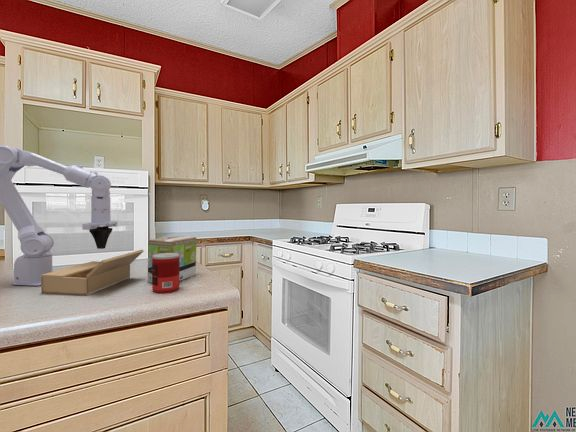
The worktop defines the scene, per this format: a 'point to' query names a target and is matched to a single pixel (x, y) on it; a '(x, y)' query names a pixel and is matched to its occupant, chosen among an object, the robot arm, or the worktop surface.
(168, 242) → the tea box
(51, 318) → the worktop surface
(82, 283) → the carton
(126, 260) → the flap
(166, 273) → the canned food
